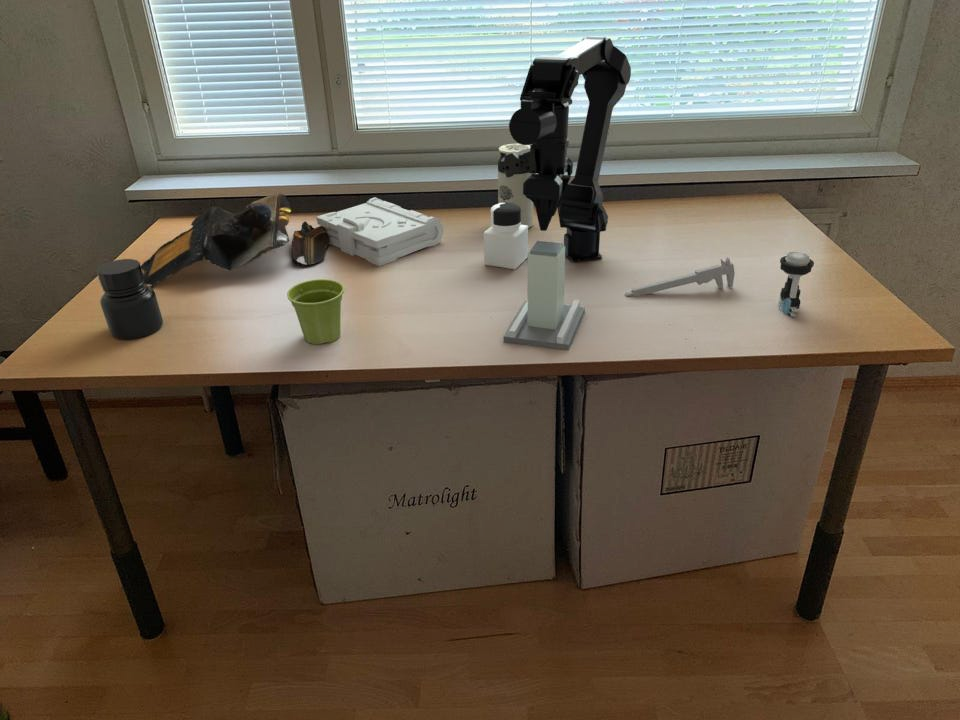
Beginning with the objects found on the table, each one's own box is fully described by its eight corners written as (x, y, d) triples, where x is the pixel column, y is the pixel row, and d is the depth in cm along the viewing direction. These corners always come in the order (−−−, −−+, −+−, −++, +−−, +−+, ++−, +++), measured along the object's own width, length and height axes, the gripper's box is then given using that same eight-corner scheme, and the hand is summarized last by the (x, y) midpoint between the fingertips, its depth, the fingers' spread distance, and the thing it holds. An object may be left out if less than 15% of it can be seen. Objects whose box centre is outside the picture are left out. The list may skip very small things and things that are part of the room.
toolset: (135, 302, 135) (100, 190, 143) (167, 343, 153) (134, 242, 161) (337, 237, 144) (294, 136, 153) (345, 284, 162) (305, 191, 171)
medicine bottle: (528, 257, 150) (528, 201, 144) (515, 270, 144) (515, 213, 138) (497, 252, 153) (496, 198, 146) (483, 265, 147) (482, 208, 141)
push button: (809, 319, 122) (821, 265, 117) (776, 318, 123) (787, 264, 118) (798, 302, 128) (810, 250, 123) (768, 301, 128) (778, 249, 123)
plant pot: (361, 328, 124) (355, 283, 120) (330, 354, 117) (322, 306, 113) (316, 320, 128) (309, 275, 123) (283, 344, 120) (274, 297, 116)
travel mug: (520, 217, 171) (520, 141, 162) (539, 226, 166) (540, 148, 156) (492, 224, 168) (490, 146, 159) (511, 233, 162) (510, 154, 153)
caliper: (729, 287, 135) (734, 256, 132) (732, 289, 134) (737, 258, 131) (624, 295, 133) (627, 264, 130) (626, 298, 132) (628, 266, 129)
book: (372, 216, 177) (368, 186, 173) (446, 244, 159) (444, 211, 155) (305, 238, 166) (299, 207, 162) (377, 271, 148) (372, 236, 144)
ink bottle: (160, 312, 133) (143, 252, 126) (171, 330, 126) (153, 267, 120) (104, 326, 128) (83, 265, 122) (112, 346, 122) (90, 282, 116)
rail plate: (525, 305, 130) (525, 294, 129) (584, 312, 127) (585, 301, 126) (503, 341, 119) (503, 330, 118) (568, 350, 116) (568, 338, 115)
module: (535, 313, 125) (536, 239, 118) (563, 316, 124) (565, 242, 117) (527, 325, 121) (527, 250, 114) (556, 329, 120) (558, 254, 113)
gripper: (515, 124, 133) (514, 206, 140) (493, 143, 117) (493, 235, 124) (575, 126, 130) (570, 209, 138) (561, 146, 114) (556, 239, 122)
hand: (547, 222), depth 130 cm, fingers open, 9 cm apart
